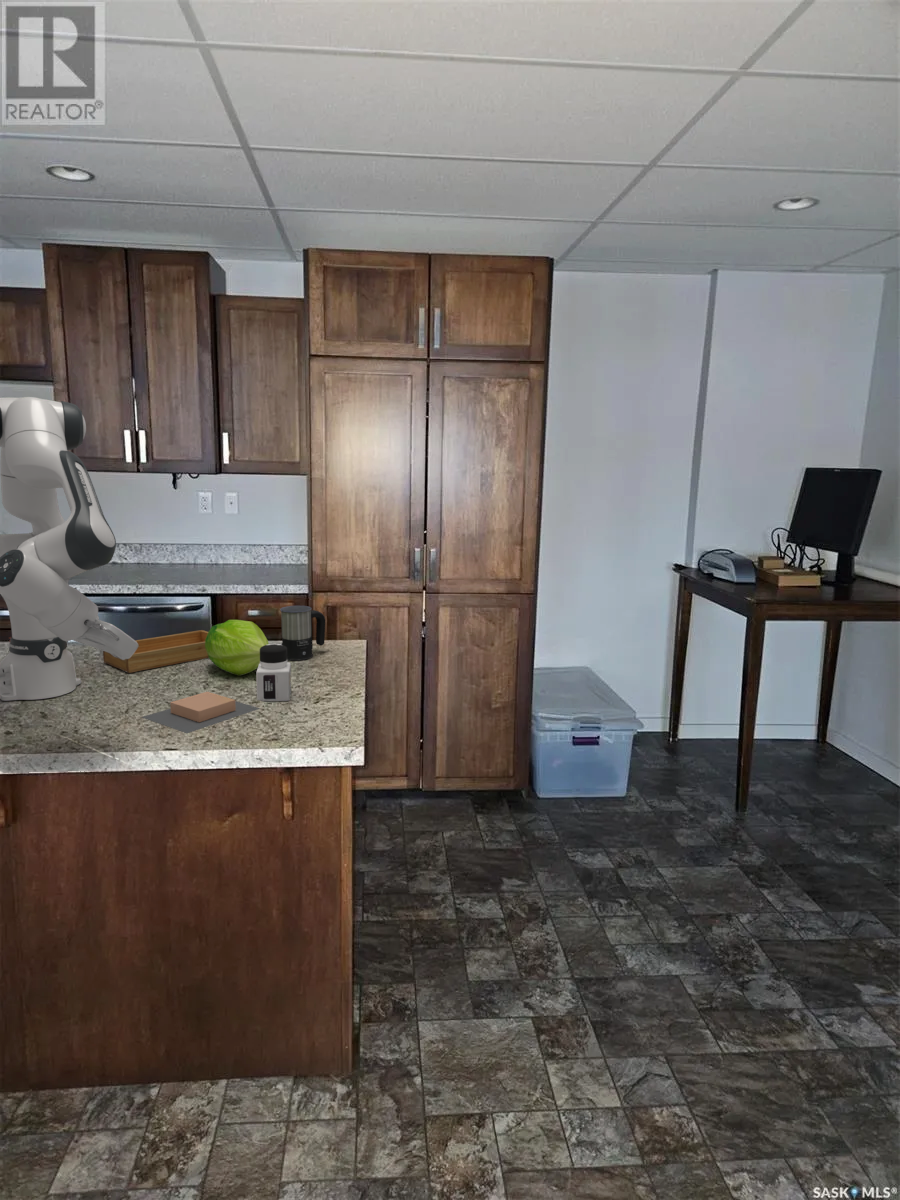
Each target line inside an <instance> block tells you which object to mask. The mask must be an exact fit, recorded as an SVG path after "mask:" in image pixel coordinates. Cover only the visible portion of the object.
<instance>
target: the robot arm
mask: <svg viewBox="0 0 900 1200" xmlns="http://www.w3.org/2000/svg"><path fill="white" fill-rule="evenodd" d="M86 424H87V423H86V420H85V417H84V415H83V413H82V409H81V408H79V406H78V405H77V404H74V403H71V402H68V401H64V400H61V401H55V400H51V399H50V400H49V399H46V398H39V397H35V396H24V397H23V396H22V397H7V396H6V397H0V448H1V449H0V486H1V503H2V506H3V508H4V510H5V511H6V512H7V513H9V515H11V516H13V517H16V518H18V519H20V520H22V521H25V522H28V523H30V524H31V527H32V531H31V532H27V533H24V532H23V533H5V534H4V533H3V534H0V595H1V597H2V599H3V601H4V602H5V604H6V607H7V610H8V616H9V620H10V627H11V628H10V629H11V636H10V637H8V639H10V640H9V641H8V646H9V647H8V653H7V654H6V655H5V656H4V658H2V660H0V700H1V701H3V702H4V701H6V702H7V701H18V700H22V701H23V700H24V701H25V700H27V701H28V700H31V701H33V700H43V699H49V698H56V697H60V696H64V695H66V694H68V693H71V692H73V691H74V690H76V687H77V686H78V685H80V684H81V683H82V679H81V678H80V677H77V674H76V668H75V663H74V656H73V653H72V652H71V651H69V650H68V649H67V648H68V642H69V641H70V642H71V641H73V642H77V643H79V644H82V645H85V646H88V647H91V648H93V649H97V650H100V651H102V652H103V651H105V652H108V653H110V654H111V655H113V656H114V657H116V658H119V659H122V660H125V659H129V658H130V657H131V656H132V655H133V654H134V652H135V651H136V650H137V648H138V646H139V645H138V643H137V642H136V641H135V638H132V637H131V636H130V635H128V634H127V633H125V632H124V631H123V630H122V629H120V628H118V627H117V626H115V625H114V624H112V623H110V622H106V621H104V620H101V619H100V617H99V607H98V605H97V604H96V603H94V601H92V600H91V599H90V598H88V597H87V596H86V595H85V594H83V593H82V592H81V591H79V589H77V588H75V587H74V586H73V587H72V586H71V585H70V584H69V581H70V579H71V578H74V577H76V576H78V575H80V574H82V573H83V574H84V573H85V572H87V571H90V570H93V569H94V570H95V569H97V568H101V567H102V566H106V565H108V564H109V563H110V562H111V561H112V560H113V557H114V556H115V552H116V546H117V540H116V537H115V534H114V532H113V530H112V528H111V527H110V524H109V523H108V521H107V519H106V518H105V515H104V512H103V509H102V507H101V504H100V501H99V498H98V495H97V493H96V489H95V487H94V484H93V481H92V479H91V477H90V474H89V471H88V469H87V467H86V466H85V464H84V462H83V460H82V459H81V458H80V457H79V456H78V455H77V454H75V453H74V452H72V451H71V450H75V449H77V448H78V447H80V446H82V444H83V441H84V439H85V436H86V433H87V425H86ZM60 488H61V489H63V492H64V494H65V498H66V501H67V504H68V506H69V510H70V515H69V516H68V517H67V519H66V520H65V519H64V517H63V516H62V512H61V510H60V508H59V502H58V495H57V494H58V493H57V489H60Z"/></svg>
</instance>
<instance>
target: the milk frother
mask: <svg viewBox="0 0 900 1200" xmlns="http://www.w3.org/2000/svg"><path fill="white" fill-rule="evenodd" d="M279 610H280V612H281V613H280V614H281V615H280V617H281V643H280V644H281V645H284V646H286V647H287V661H294V662H295V661H306V660H309V659H311V658H312V657H314V655H313V649H314V648H313V624H312V623H313V621H312V619H313V618H315V619H316V621H315V622H316V623H315V625H316V626H315V643H316V644H317V645H318V646H321V647H322V646H324V644H325V641H326V638H325V636H326V618H325V615H324V613H322V612H321V611H319V610H315V609H313V610H312V607H311V606H307V605H289V606H288V605H287V606H283V607H281V608H280V609H279Z"/></svg>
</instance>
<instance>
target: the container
mask: <svg viewBox="0 0 900 1200" xmlns="http://www.w3.org/2000/svg"><path fill="white" fill-rule="evenodd" d="M281 644H282V643H268V645H265V646H262V647H261V648H260V663H259V666H258V668H256V669H257V670H256V677H255V678H256V700H257V701H261V702H266V703H267V702H289V701H290V699H291V695H292V675H291V673H292V672H291V671H292V668H291V665H292V664H291V662H288V660H287V647H286V646H284V645H281Z"/></svg>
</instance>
